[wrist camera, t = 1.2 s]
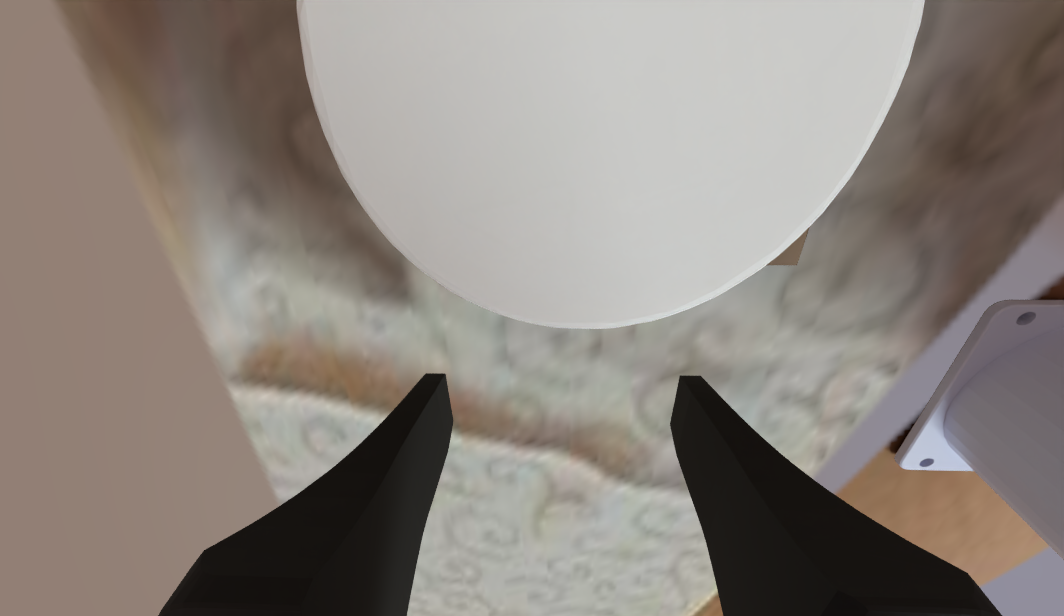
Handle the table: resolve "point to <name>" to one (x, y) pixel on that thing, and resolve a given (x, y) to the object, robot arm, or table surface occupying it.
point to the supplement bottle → (600, 138)
